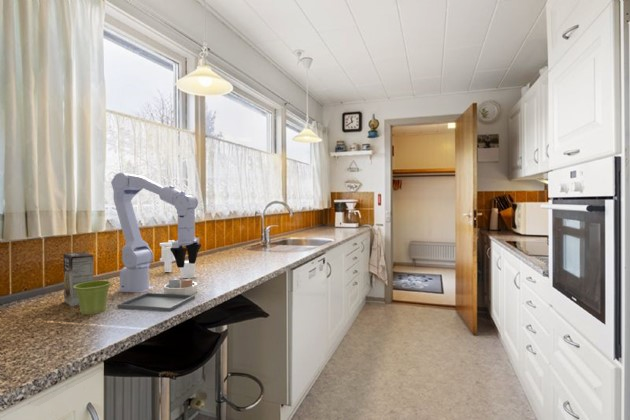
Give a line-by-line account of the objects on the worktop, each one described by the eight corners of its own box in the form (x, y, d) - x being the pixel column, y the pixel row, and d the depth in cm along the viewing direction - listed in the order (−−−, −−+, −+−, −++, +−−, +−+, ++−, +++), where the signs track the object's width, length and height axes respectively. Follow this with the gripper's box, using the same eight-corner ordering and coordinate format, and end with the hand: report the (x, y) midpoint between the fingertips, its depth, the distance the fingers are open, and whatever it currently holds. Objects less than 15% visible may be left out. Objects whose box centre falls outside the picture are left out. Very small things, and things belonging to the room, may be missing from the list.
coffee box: (63, 301, 112) (62, 253, 112) (85, 297, 117) (85, 251, 116) (71, 307, 106) (70, 256, 106) (94, 303, 111) (93, 254, 110)
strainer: (179, 271, 161) (179, 240, 161) (167, 274, 155) (167, 241, 155) (168, 270, 164) (168, 239, 164) (156, 272, 158) (156, 241, 158)
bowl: (157, 296, 118) (157, 287, 118) (175, 288, 129) (175, 280, 129) (186, 298, 116) (186, 289, 116) (202, 290, 127) (202, 281, 127)
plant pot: (83, 320, 95) (82, 289, 95) (68, 314, 100) (67, 285, 100) (117, 311, 103) (117, 282, 103) (101, 305, 108) (101, 279, 108)
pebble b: (179, 293, 120) (179, 280, 120) (185, 290, 124) (185, 278, 124) (188, 293, 120) (188, 281, 120) (194, 291, 124) (194, 278, 123)
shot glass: (190, 279, 145) (190, 263, 145) (176, 278, 147) (176, 262, 146) (199, 275, 152) (198, 260, 152) (185, 275, 153) (185, 259, 153)
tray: (117, 309, 104) (117, 304, 104) (147, 296, 118) (147, 292, 118) (170, 312, 101) (170, 307, 101) (194, 299, 115) (194, 295, 115)
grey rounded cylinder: (167, 293, 121) (167, 280, 121) (171, 290, 125) (170, 278, 124) (178, 292, 121) (177, 280, 121) (181, 289, 125) (181, 277, 125)
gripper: (185, 229, 114) (185, 269, 114) (206, 226, 128) (206, 262, 128) (166, 229, 115) (166, 268, 115) (189, 226, 129) (189, 261, 130)
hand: (186, 265), depth 122 cm, fingers open, 7 cm apart
